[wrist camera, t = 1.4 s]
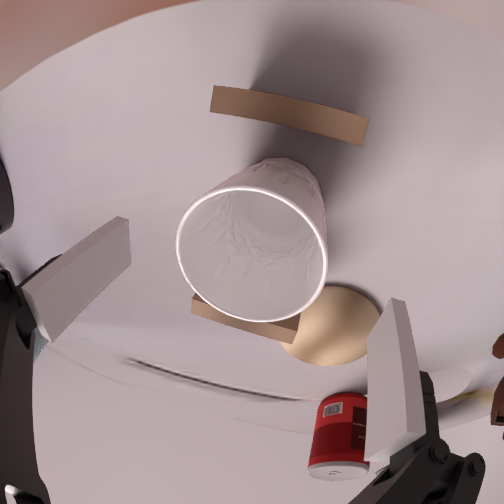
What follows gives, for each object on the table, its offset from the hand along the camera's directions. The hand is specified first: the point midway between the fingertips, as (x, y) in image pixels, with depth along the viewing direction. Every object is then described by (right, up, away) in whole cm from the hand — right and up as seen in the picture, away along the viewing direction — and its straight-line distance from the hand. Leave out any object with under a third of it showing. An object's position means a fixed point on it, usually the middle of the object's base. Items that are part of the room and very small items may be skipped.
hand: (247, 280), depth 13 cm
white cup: (+3, +6, +10) cm, 11 cm away
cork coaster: (+8, -7, +15) cm, 18 cm away
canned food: (+13, -20, +21) cm, 32 cm away
